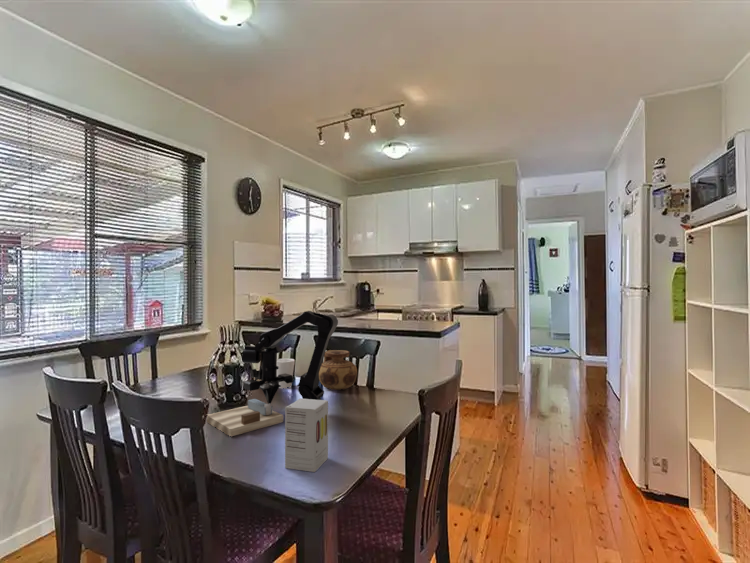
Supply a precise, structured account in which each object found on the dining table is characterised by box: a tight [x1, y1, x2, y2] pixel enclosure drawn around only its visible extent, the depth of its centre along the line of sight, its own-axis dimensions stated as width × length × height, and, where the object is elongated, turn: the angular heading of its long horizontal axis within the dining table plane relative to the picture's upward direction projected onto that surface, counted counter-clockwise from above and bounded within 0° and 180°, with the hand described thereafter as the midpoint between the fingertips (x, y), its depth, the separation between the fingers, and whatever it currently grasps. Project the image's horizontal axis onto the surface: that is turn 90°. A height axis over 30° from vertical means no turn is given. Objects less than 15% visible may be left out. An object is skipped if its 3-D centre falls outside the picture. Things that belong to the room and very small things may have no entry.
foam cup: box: [277, 358, 296, 389], centre depth 195 cm, size 10×9×13 cm
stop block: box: [241, 411, 260, 425], centre depth 138 cm, size 2×6×3 cm, turn 134°
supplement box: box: [284, 398, 329, 473], centre depth 112 cm, size 10×9×17 cm
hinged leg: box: [246, 398, 273, 415], centre depth 150 cm, size 14×3×4 cm, turn 44°
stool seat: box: [206, 405, 284, 437], centre depth 146 cm, size 20×20×2 cm
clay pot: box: [319, 349, 358, 391], centre depth 192 cm, size 19×19×20 cm
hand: (269, 403), depth 156 cm, fingers closed
